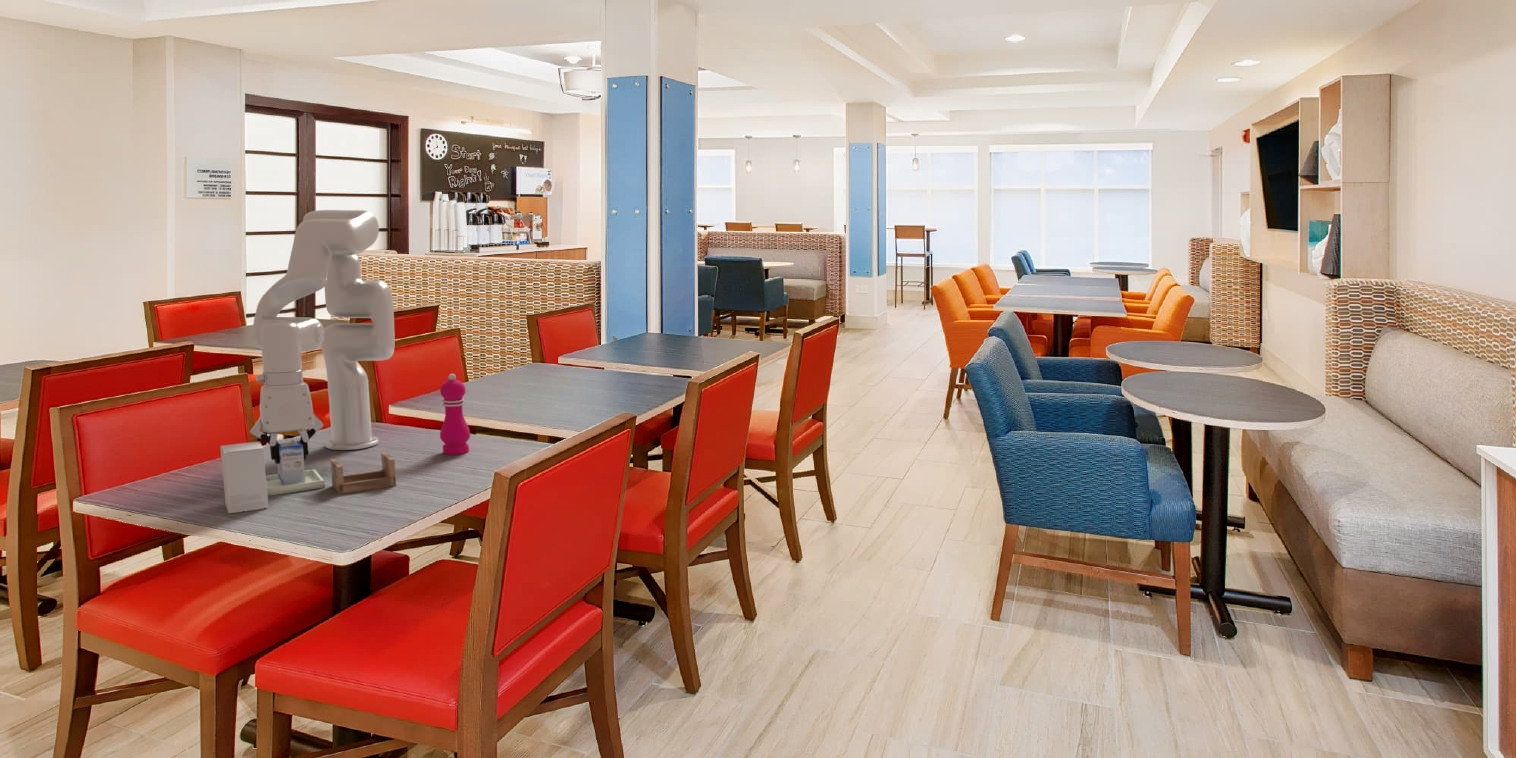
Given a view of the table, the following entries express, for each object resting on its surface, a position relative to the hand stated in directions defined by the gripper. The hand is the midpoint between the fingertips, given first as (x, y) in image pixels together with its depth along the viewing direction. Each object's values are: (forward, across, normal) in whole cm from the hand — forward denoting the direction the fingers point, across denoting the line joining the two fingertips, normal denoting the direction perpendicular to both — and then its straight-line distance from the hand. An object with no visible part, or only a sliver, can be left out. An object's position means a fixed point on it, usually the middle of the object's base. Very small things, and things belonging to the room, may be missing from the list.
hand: (290, 460), depth 205 cm
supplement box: (+6, -10, -11) cm, 16 cm away
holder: (+6, +13, -9) cm, 17 cm away
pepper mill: (+6, +39, +10) cm, 41 cm away
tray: (+6, 0, 0) cm, 6 cm away
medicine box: (+5, 0, 0) cm, 5 cm away
